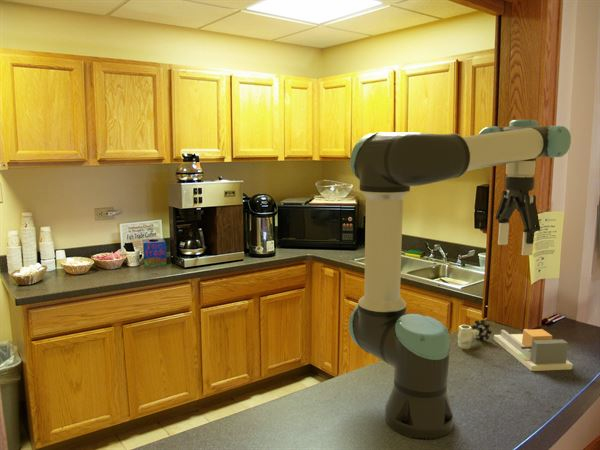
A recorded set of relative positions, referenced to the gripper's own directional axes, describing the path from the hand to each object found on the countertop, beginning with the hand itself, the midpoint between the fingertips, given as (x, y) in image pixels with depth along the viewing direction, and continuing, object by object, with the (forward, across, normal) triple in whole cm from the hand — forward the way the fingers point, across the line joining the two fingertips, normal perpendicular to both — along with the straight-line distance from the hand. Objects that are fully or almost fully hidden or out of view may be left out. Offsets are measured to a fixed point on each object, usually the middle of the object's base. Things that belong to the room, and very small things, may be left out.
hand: (514, 249), depth 144 cm
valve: (+32, +8, +7) cm, 34 cm away
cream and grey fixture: (+32, -1, -7) cm, 32 cm away
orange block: (+30, -4, -7) cm, 31 cm away
